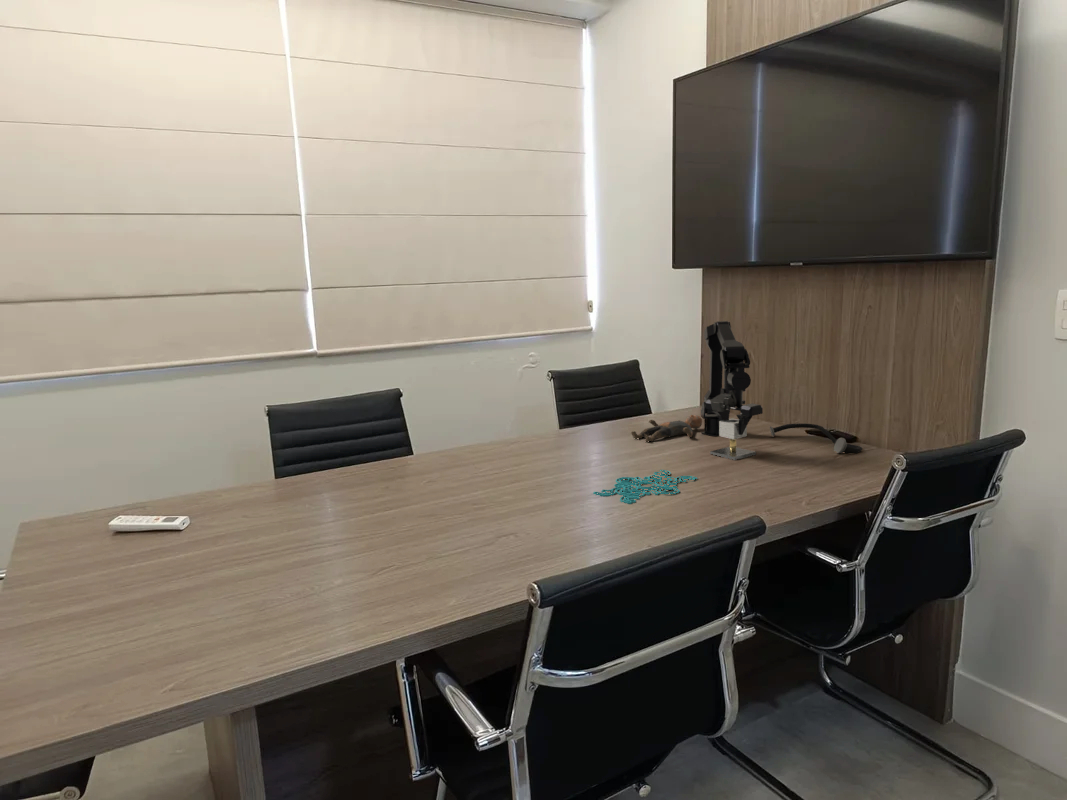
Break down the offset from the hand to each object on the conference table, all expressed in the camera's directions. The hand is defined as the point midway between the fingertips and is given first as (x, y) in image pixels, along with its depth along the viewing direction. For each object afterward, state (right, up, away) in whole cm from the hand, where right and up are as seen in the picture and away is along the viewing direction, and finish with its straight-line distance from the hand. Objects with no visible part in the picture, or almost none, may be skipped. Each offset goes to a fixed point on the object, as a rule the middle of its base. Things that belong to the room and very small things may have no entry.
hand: (732, 433), depth 220 cm
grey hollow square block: (0, -1, 0) cm, 1 cm away
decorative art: (-32, -14, -28) cm, 45 cm away
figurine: (-13, -3, +32) cm, 35 cm away
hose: (+30, -5, +10) cm, 32 cm away
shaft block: (0, -7, +1) cm, 7 cm away
